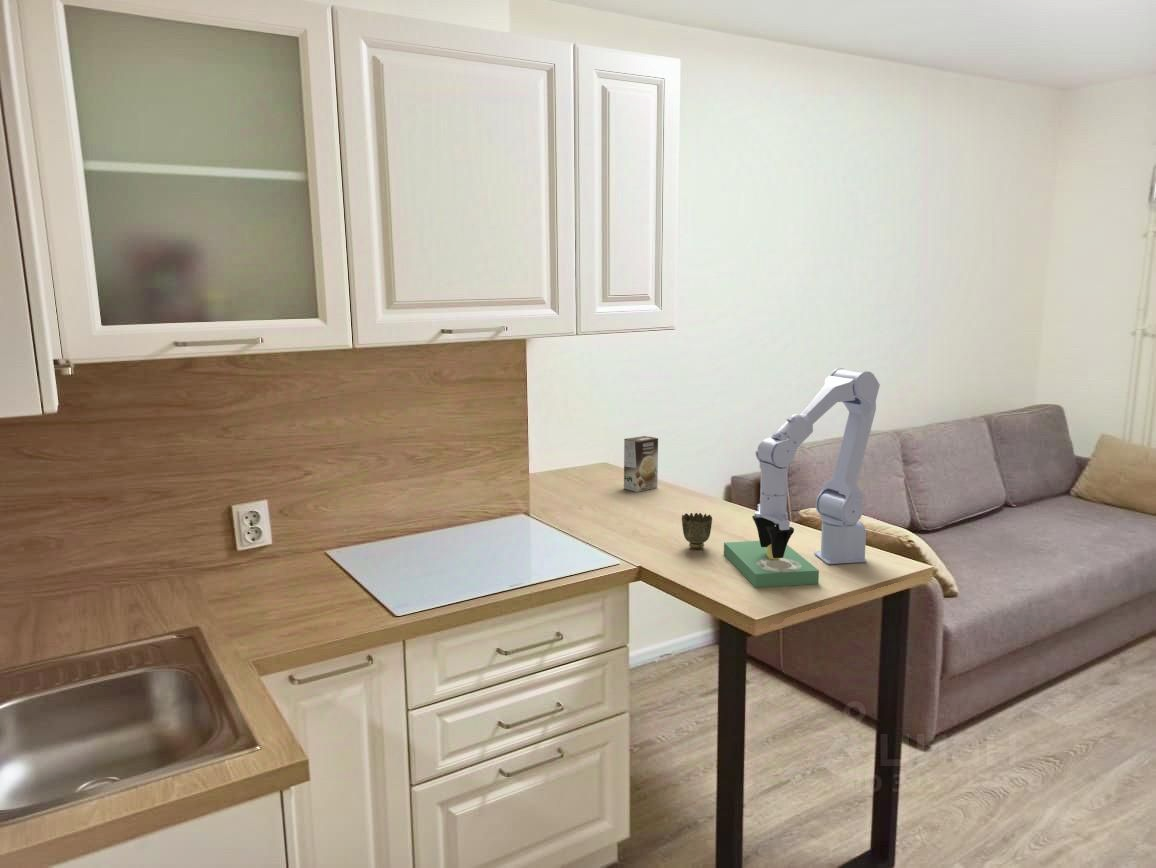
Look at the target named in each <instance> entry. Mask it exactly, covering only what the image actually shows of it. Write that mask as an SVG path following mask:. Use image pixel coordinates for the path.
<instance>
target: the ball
mask: <svg viewBox="0 0 1156 868" xmlns="http://www.w3.org/2000/svg"><path fill="white" fill-rule="evenodd" d="M766 554H767V556H768V557H769V558H770V559H772V560H776V559H779V558H773V555H772V547H771V544H770V545H769V546H768V547H767V548H766Z"/></svg>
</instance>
